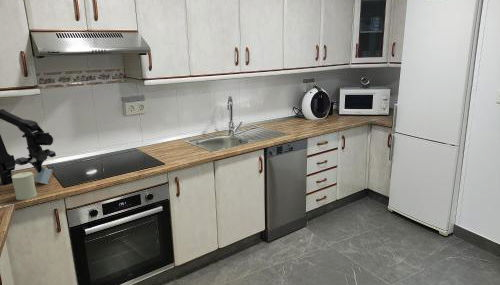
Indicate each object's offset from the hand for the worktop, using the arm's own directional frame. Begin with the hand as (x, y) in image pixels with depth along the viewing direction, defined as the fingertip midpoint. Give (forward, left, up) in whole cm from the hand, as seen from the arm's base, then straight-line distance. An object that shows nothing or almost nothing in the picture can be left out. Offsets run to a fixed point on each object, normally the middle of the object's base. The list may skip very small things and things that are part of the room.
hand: (39, 172), depth 198 cm
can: (+12, -13, -7) cm, 19 cm away
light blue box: (0, 0, -6) cm, 6 cm away
